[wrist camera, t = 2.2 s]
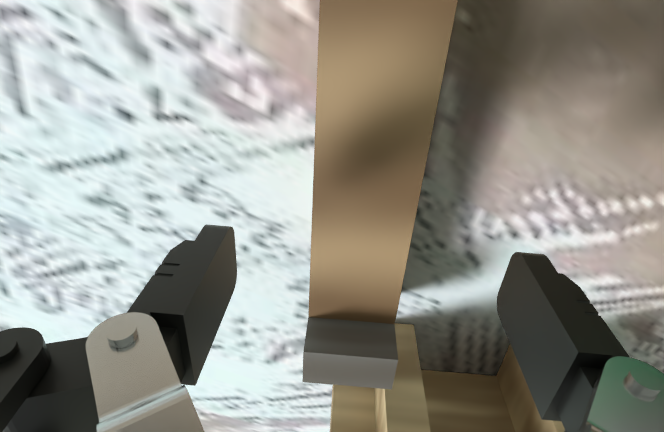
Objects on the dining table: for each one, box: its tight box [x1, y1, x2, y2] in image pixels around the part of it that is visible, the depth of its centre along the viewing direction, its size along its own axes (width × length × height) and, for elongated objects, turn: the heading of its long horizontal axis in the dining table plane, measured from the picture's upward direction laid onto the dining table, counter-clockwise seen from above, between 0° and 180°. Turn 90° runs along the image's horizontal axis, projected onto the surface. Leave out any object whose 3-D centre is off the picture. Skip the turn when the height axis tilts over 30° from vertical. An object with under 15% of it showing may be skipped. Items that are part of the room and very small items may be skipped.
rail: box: [303, 0, 458, 389], centre depth 16 cm, size 18×4×6 cm, turn 177°
